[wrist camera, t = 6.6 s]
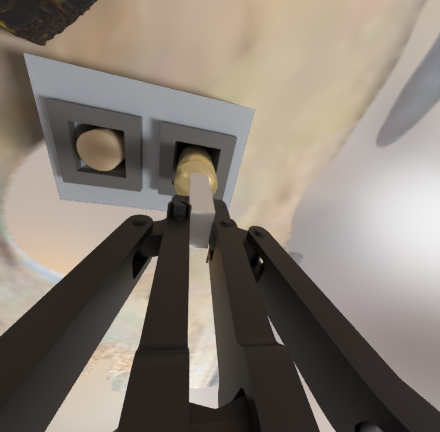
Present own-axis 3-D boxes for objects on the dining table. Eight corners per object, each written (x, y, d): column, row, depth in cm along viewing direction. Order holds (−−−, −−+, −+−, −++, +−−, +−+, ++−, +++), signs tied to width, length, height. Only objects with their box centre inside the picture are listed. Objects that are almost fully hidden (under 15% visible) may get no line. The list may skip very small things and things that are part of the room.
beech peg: (106, 151, 26) (80, 167, 20) (103, 119, 24) (73, 127, 18) (136, 156, 27) (120, 173, 21) (136, 126, 25) (118, 135, 19)
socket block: (83, 181, 28) (53, 204, 22) (63, 63, 21) (11, 49, 15) (221, 199, 32) (228, 222, 26) (242, 106, 25) (258, 109, 19)
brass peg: (177, 174, 24) (172, 200, 18) (180, 142, 22) (176, 159, 16) (208, 179, 25) (213, 205, 19) (213, 148, 23) (221, 166, 17)
